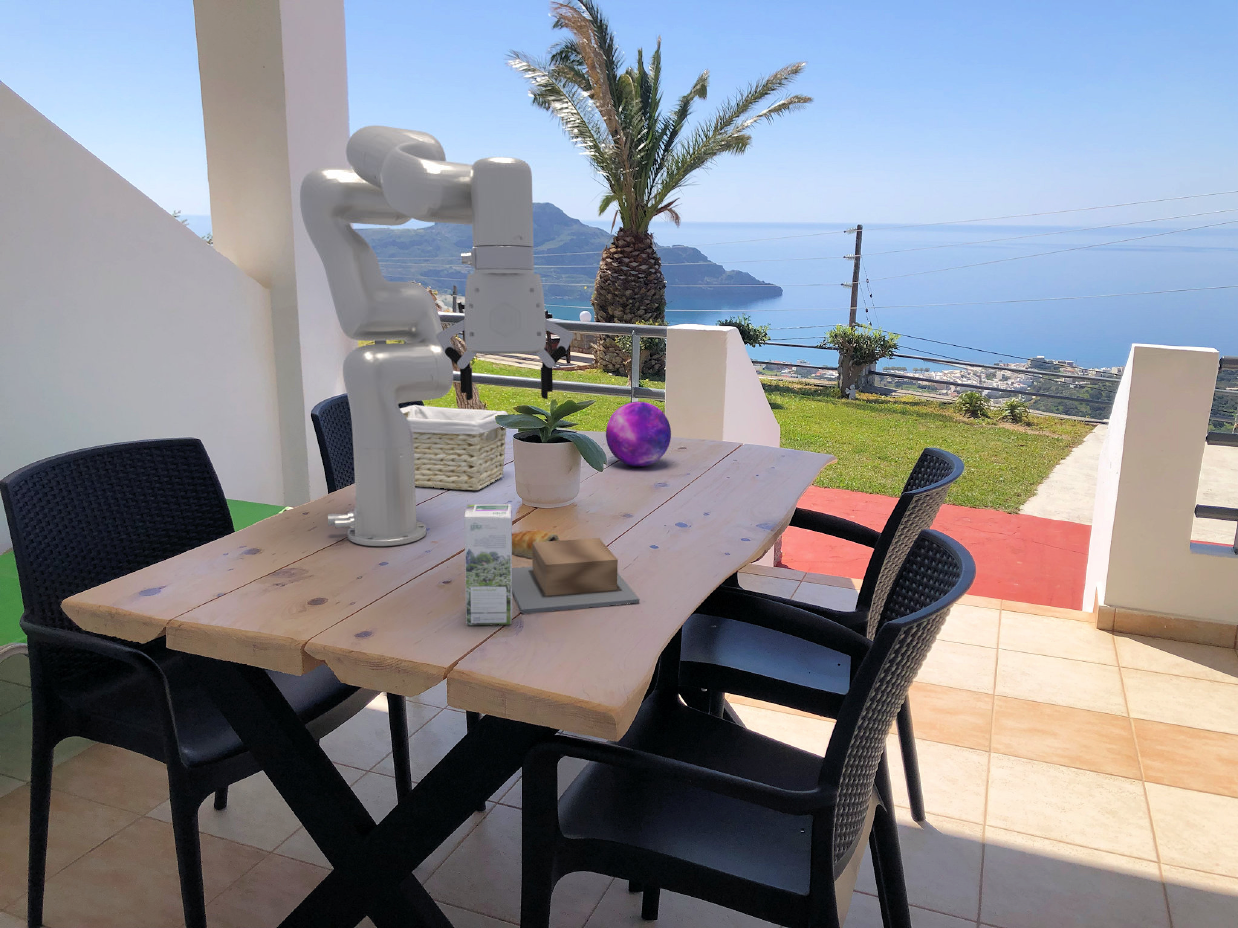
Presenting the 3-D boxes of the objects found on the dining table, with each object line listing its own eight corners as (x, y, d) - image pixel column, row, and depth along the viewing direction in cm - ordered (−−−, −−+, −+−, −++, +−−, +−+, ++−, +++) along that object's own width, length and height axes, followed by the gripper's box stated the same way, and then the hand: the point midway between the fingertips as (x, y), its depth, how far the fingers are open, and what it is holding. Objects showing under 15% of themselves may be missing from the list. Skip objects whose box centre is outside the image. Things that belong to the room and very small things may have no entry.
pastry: (492, 553, 133) (491, 530, 133) (513, 542, 140) (513, 520, 139) (544, 562, 130) (544, 538, 129) (564, 550, 136) (564, 527, 135)
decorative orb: (671, 473, 189) (673, 407, 186) (604, 472, 190) (605, 406, 186) (668, 459, 204) (670, 398, 201) (606, 458, 204) (607, 396, 201)
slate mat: (521, 613, 110) (521, 609, 109) (503, 572, 125) (503, 568, 124) (639, 603, 114) (639, 598, 114) (607, 564, 129) (608, 560, 129)
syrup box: (513, 608, 111) (512, 501, 108) (511, 626, 106) (511, 514, 103) (469, 609, 111) (467, 502, 108) (465, 627, 105) (463, 514, 102)
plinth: (542, 601, 114) (542, 566, 113) (527, 573, 124) (527, 541, 123) (622, 595, 117) (623, 560, 116) (601, 568, 127) (601, 536, 126)
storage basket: (373, 485, 174) (370, 414, 171) (412, 468, 190) (410, 403, 186) (479, 495, 168) (478, 422, 165) (511, 477, 183) (511, 410, 180)
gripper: (430, 261, 101) (436, 403, 105) (574, 261, 104) (576, 400, 107) (435, 263, 109) (441, 396, 112) (570, 264, 111) (571, 394, 114)
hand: (507, 398), depth 110 cm, fingers open, 9 cm apart
